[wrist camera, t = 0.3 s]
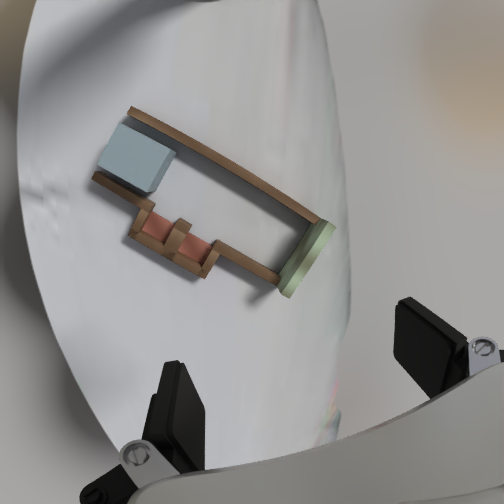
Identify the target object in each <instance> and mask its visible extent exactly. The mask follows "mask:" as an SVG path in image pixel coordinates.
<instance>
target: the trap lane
mask: <svg viewBox="0 0 504 504" xmlns="http://www.w3.org/2000/svg"><path fill="white" fill-rule="evenodd" d="M127 114H128V115H130V116H131V117H133V118H135V119H137V120H139V121H141V122H143V123H145V124H147V125H149V126H150V127H152V128H154V129H156V130H158V131H160V132H162V133H164V134H165V135H167V136H169V137H171V138H173V139H175V140H176V141H178V142H180V143H182V144H184V145H185V146H187V147H189V148H191V149H192V150H194V151H196V152H198V153H200V154H201V155H203V156H205V157H206V158H208V159H210V160H212V161H213V162H215V163H217V164H218V165H220V166H222V167H224V168H225V169H227V170H229V171H230V172H232V173H234V174H235V175H237V176H239V177H240V178H242V179H244V180H245V181H247V182H248V183H250V184H252V185H253V186H255V187H257V188H258V189H260V190H261V191H263V192H265V193H266V194H268V195H269V196H271V197H272V198H274V199H276V200H277V201H279V202H280V203H282V204H283V205H285V206H287V207H288V208H290V209H291V210H293V211H294V212H296V213H297V214H299V215H300V216H302V217H303V218H305V219H306V220H308V221H309V222H311V223H312V224H311V225H310V227H309V228H308V230H307V231H306V233H305V235H304V236H303V238H302V239H301V241H300V242H299V244H298V245H297V247H296V249H295V250H294V252H293V253H292V255H291V256H290V258H289V259H288V261H287V262H286V264H285V265H284V267H283V268H282V270H281V271H280V273H279V274H277V273H275V272H274V271H272V270H270V269H268V268H267V267H265V266H263V265H261V264H260V263H258V262H256V261H254V260H253V259H251V258H249V257H247V256H246V255H244V254H242V253H240V252H239V251H237V250H235V249H233V248H232V247H230V246H228V245H226V244H225V243H223V242H221V241H219V240H218V239H217V240H216V241H215V243H214V245H213V246H211V245H210V244H208V243H206V242H204V241H203V240H201V239H199V238H197V237H196V236H194V235H192V234H190V233H189V230H190V228H191V226H192V224H190V223H188V222H187V221H185V220H183V219H181V218H179V219H178V221H177V222H176V224H173V223H171V222H170V221H168V220H166V219H164V218H163V217H161V216H159V215H158V214H156V213H154V212H152V210H153V208H154V206H155V203H154V202H152V201H150V200H149V199H147V198H145V197H143V196H142V195H140V194H138V193H137V192H135V191H133V190H131V189H130V188H128V187H126V186H125V185H123V184H121V183H119V182H118V181H116V180H114V179H113V178H111V177H109V176H107V175H106V174H104V173H102V172H101V171H95V172H94V174H93V176H92V180H94V181H95V182H97V183H99V184H100V185H102V186H104V187H105V188H107V189H109V190H110V191H112V192H114V193H115V194H117V195H119V196H120V197H122V198H124V199H126V200H127V201H129V202H131V203H132V204H134V205H136V206H137V207H139V208H141V210H140V212H139V214H138V216H137V218H136V220H135V222H134V224H133V226H132V228H131V230H130V232H129V234H128V236H130V237H131V238H133V239H135V240H136V241H138V242H140V243H142V244H143V245H145V246H147V247H148V248H150V249H152V250H154V251H155V252H157V253H159V254H160V255H162V256H164V257H166V258H167V259H169V260H171V261H173V262H174V263H176V264H178V265H180V266H182V267H183V268H185V269H187V270H189V271H191V272H192V273H194V274H196V275H198V276H200V277H201V278H203V279H205V278H206V277H207V275H208V273H209V271H210V270H211V268H212V266H213V265H214V263H215V261H216V260H217V258H218V256H219V255H220V254H221V255H222V256H224V257H226V258H228V259H230V260H231V261H233V262H235V263H237V264H238V265H240V266H242V267H244V268H246V269H247V270H249V271H251V272H253V273H254V274H256V275H258V276H260V277H262V278H263V279H265V280H267V281H269V282H271V283H272V284H274V285H276V286H277V287H278V289H279V291H280V293H281V294H282V295H284V296H285V297H287V298H290V297H291V295H292V294H293V293H294V291H295V290H296V288H297V287H298V285H299V284H300V282H301V281H302V279H303V278H304V276H305V275H306V273H307V272H308V270H309V269H310V267H311V266H312V264H313V263H314V261H315V260H316V258H317V257H318V255H319V254H320V252H321V251H322V249H323V248H324V246H325V244H326V243H327V241H328V240H329V238H330V237H331V235H332V234H333V232H334V230H335V229H336V227H335V226H334V225H333V224H331V223H330V222H328V221H326V220H324V219H321V218H320V217H318V216H317V215H315V214H314V213H312V212H311V211H309V210H308V209H307V208H305V207H304V206H302V205H301V204H299V203H298V202H296V201H295V200H293V199H291V198H290V197H288V196H287V195H285V194H284V193H282V192H281V191H279V190H278V189H276V188H275V187H273V186H271V185H270V184H268V183H267V182H265V181H264V180H262V179H260V178H259V177H257V176H256V175H254V174H252V173H251V172H249V171H247V170H246V169H244V168H242V167H241V166H239V165H238V164H236V163H234V162H233V161H231V160H229V159H228V158H226V157H224V156H222V155H221V154H219V153H217V152H216V151H214V150H212V149H210V148H209V147H207V146H205V145H203V144H202V143H200V142H198V141H196V140H195V139H193V138H191V137H189V136H187V135H186V134H184V133H182V132H180V131H178V130H176V129H175V128H173V127H171V126H169V125H167V124H165V123H163V122H162V121H160V120H158V119H156V118H154V117H152V116H150V115H148V114H146V113H144V112H142V111H140V110H138V109H136V108H134V107H132V106H131V107H130V109H129V110H128V112H127Z"/></svg>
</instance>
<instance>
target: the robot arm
mask: <svg viewBox="0 0 504 504" xmlns="http://www.w3.org/2000/svg"><path fill="white" fill-rule="evenodd" d="M466 340H467V337H465V336H464V335H463V334H461V333H460V332H459V331H457V330H456V329H455V328H453V327H452V326H450V325H449V324H448V323H447V322H445V321H444V320H443V319H441V318H440V317H438V316H437V315H436V314H434V313H433V312H432V311H430V310H429V309H427V308H426V307H425V306H423V305H422V304H420V303H419V302H418V301H416V300H415V299H413V298H412V297H407V298H405V299H402V300H400V301H399V302H398V305H396V308H395V332H394V350H393V353H394V357H395V359H396V360H397V361H398V362H399V364H401V366H402V367H403V368H404V369H405V370H406V371H407V373H408V374H409V375H410V376H411V377H412V378H413V379H414V381H415V382H416V383H417V384H418V385H419V386H420V387H421V389H422V390H423V391H424V392H425V393H426V394H427V396H428V397H429V398H430V400H428V401H426V402H424V403H423V404H421V405H419V406H417V407H415V408H413V409H411V410H409V411H407V412H405V413H403V414H401V415H399V416H396V417H394V418H392V419H390V420H388V421H385V422H383V423H381V424H379V425H376V426H374V427H371V428H369V429H366V430H364V431H361V432H359V433H356V434H354V435H351V436H348V437H346V438H343V439H340V440H337V441H334V442H331V443H328V444H325V445H322V446H318V447H315V448H312V449H308V450H305V451H301V452H297V453H294V454H290V455H286V456H282V457H277V458H273V459H268V460H263V461H258V462H253V463H248V464H242V465H237V466H230V467H224V468H217V469H210V470H205V408H204V405H203V403H202V401H201V399H200V397H199V395H198V393H197V391H196V389H195V386H194V384H193V382H192V380H191V378H190V375H189V373H188V371H187V369H186V366H185V364H184V363H180V362H179V361H178V360H176V361H169V362H165V363H164V366H163V370H162V374H161V378H160V382H159V386H158V391H157V394H153V395H152V397H151V401H150V405H149V409H148V413H147V418H146V422H145V426H144V431H143V435H142V439H141V440H134V441H131V442H129V443H127V444H126V445H125V446H123V448H122V449H121V450H120V453H119V461H120V463H121V464H119V465H118V466H116V467H115V468H113V469H112V470H110V471H109V472H107V473H106V474H104V475H103V476H101V477H100V478H98V479H96V480H95V481H93V482H92V483H90V484H88V485H87V486H86V487H84V488H83V490H82V491H81V493H80V503H81V504H504V350H499V348H498V345H497V343H496V342H495V341H494V340H492V339H491V338H488V337H478V338H475V339H473V340H472V341H471V342H470V343H468V342H467V341H466Z"/></svg>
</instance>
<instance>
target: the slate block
mask: <svg viewBox="0 0 504 504" xmlns="http://www.w3.org/2000/svg"><path fill="white" fill-rule="evenodd" d="M176 154H177V153H176V152H175V151H173V150H171V149H169V148H167V147H166V146H164V145H162V144H160V143H158V142H156V141H154V140H152V139H150V138H149V137H147V136H145V135H143V134H141V133H139V132H137V131H135V130H133V129H131V128H129V127H127V126H125V125H123V124H121V123H119V124H118V125H117V127H116V129H115V131H114V133H113V134H112V136H111V138H110V140H109V142H108V144H107V146H106V148H105V149H104V151H103V153H102V155H101V157H100V159H99V161H98V163H97V165H99V166H100V167H102V168H104V169H106V170H108V171H109V172H111V173H113V174H115V175H117V176H118V177H120V178H122V179H124V180H125V181H127V182H129V183H131V184H133V185H134V186H136V187H138V188H140V189H142V190H143V191H145V192H151V191H156V189H157V187H158V186H159V184H160V182H161V180H162V178H163V176H164V175H165V173H166V171H167V169H168V167H169V166H170V164H171V162H172V160H173V159H174V157H175V155H176Z"/></svg>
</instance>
